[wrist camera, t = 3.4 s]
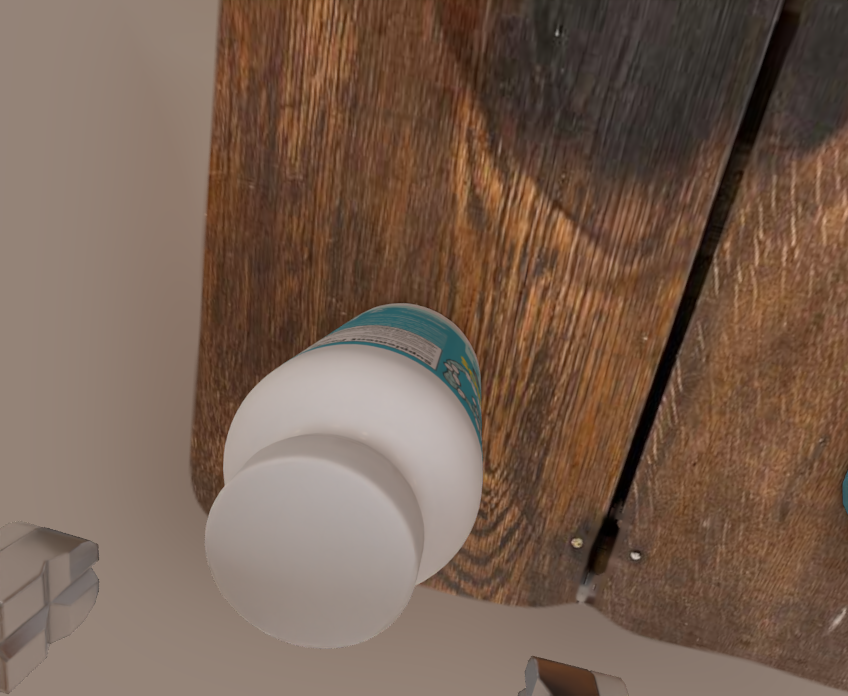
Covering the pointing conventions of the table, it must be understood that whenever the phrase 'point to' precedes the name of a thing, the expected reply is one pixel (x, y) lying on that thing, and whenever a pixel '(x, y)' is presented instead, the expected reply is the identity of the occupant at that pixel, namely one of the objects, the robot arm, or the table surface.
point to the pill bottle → (349, 478)
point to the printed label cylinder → (845, 492)
